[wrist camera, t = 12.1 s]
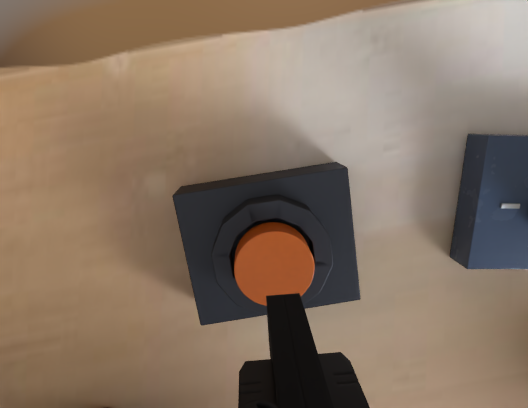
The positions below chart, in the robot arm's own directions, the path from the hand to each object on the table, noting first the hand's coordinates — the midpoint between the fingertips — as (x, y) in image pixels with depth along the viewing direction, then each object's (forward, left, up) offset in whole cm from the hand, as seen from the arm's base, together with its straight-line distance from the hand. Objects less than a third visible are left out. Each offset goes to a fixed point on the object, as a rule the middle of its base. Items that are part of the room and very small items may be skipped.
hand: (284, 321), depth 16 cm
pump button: (0, 0, -8) cm, 8 cm away
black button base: (0, 0, -13) cm, 13 cm away
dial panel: (-14, -16, -13) cm, 25 cm away
